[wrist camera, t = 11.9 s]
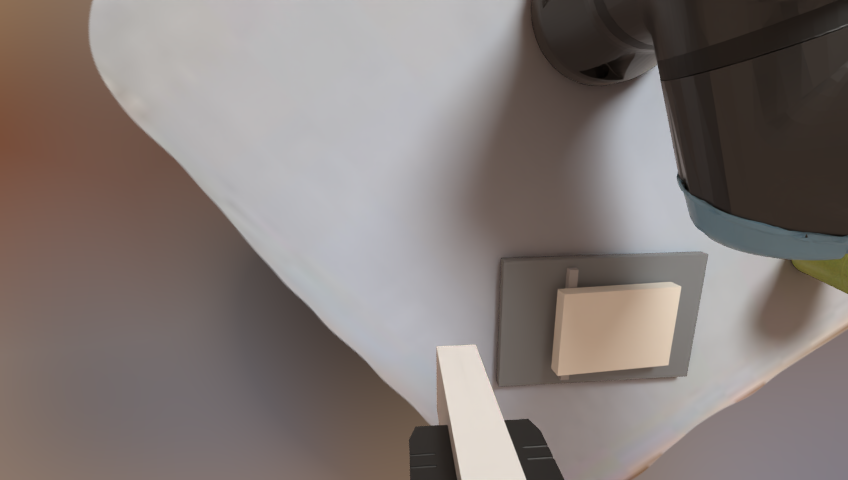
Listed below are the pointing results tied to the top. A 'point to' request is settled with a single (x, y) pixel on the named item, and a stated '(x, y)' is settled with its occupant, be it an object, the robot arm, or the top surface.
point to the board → (542, 277)
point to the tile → (614, 327)
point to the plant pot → (827, 271)
